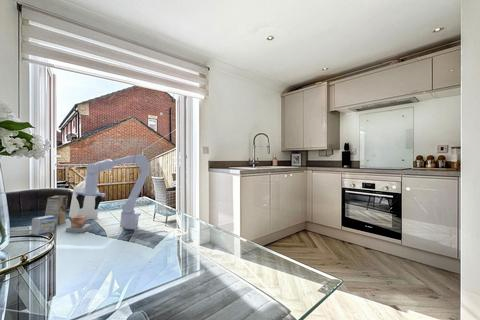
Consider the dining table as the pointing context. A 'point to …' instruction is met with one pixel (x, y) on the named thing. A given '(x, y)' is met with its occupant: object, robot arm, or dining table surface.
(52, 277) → the dining table surface
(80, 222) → the terracotta cube
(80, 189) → the milk
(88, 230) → the bottom block
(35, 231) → the medicine box
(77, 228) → the top block
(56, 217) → the coffee box
